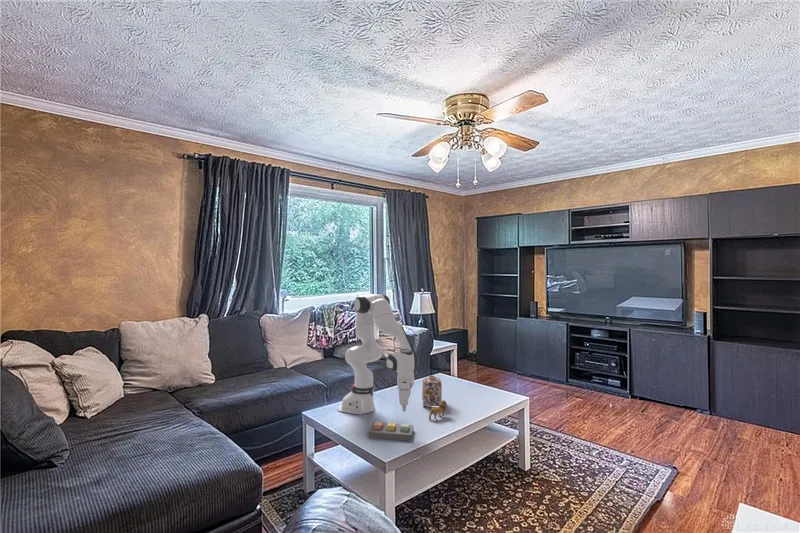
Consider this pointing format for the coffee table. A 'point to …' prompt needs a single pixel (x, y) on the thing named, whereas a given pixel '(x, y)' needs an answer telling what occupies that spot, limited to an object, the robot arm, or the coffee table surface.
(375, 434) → the button panel
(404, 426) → the sage button
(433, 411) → the lion figurine
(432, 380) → the decorative jar
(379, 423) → the terracotta button
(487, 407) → the coffee table surface
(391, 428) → the ochre button
